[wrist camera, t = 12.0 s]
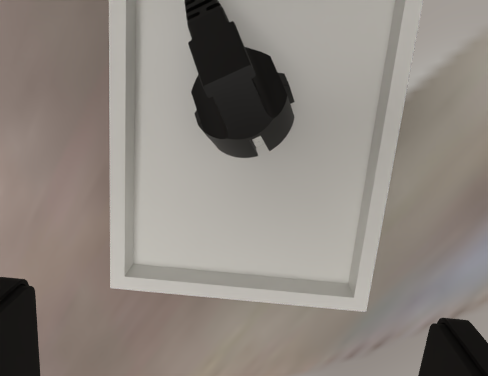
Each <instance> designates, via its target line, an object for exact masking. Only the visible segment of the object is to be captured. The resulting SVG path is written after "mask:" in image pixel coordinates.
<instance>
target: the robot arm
mask: <svg viewBox="0 0 488 376" xmlns="http://www.w3.org/2000/svg"><path fill="white" fill-rule="evenodd" d="M0 376H40V364H39V348H38V331H37V315H36V299H35V290H34V288H33V287H32V286H29V284H28V282H27V281H26V280H25V279H16V278H6V277H0ZM418 376H488V343H487V342H486V340H484V338H483V337H482V336H481V334H480V333H479V332H478V331H477V330H476V329H475V327H474V326H473V325H472V324H471V323H470V322H469V321H467V320H460V319H449V318H441V319H439V321H438V322H437V324H435V323H434V324H432V325H431V326H430V329H429V333H428V337H427V341H426V346H425V350H424V354H423V359H422V363H421V367H420V371H419V375H418Z"/></svg>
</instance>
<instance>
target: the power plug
mask: <svg viewBox="0 0 488 376" xmlns="http://www.w3.org/2000/svg"><path fill="white" fill-rule="evenodd" d="M184 2H185V7H186V8H185V10H186V18H187V25H188V29H189V32H190V35H191V38H192V40H191V41H189V42H188V45H189V48H190V51H191V54H192V57H193V60H194V63H195V65H196V68H197V71H198V76H197V78H196V80H195V83H194V85H193V88H192V91H191V93H192V96H193V100H194V103H195V106H196V109H197V110H196V112H195V113H194V114H195V117H196V120H197V123H198V126H199V127H200V128H201V130H202V131H203V132H204V133H205V134H206V136H207V137H208V138H209V139H210V140H211V141H212V142H213V143H214V145H215V146H216V147H217V148H218V149H219V150H220V151H221V152H223V153H225V154H227V155H229V156H233V157H237V158H251V157H256V156H258V153H257V151H256V148H258V147H260V146H262V145H266V146H267V148H268V150H269V151H271V150H272V149H274V148H275V147H276V146H278V145H279V144H280V143H281V142H282V141H283V140H284V139H285V137H286V136H287V135H288V133H289V131H290V129H291V127H292V125H293V122H294V114H293V111H292V108H291V105H290V104H291V103H294V102H295V101H294V98H293V95H292V92H291V89H290V85H289V83H288V81H287V78H286V76H285V74H284V73H278V72H277V70H276V68H275V65H274V63H273V61H272V59H271V56H269V55H267V54H265V53H263V52H260V51H257V50H254V49H250V48H247V47H244V45H243V42H242V40H241V37H240V35H239V32H238V30H237V27H236V25H235V23H234V22H233V21H231V22H229V20H228V18H227V15H226V13H225V11H224V9H223V7H222V6H221V4H220V3H219V1H218V0H185V1H184Z"/></svg>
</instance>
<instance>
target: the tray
mask: <svg viewBox="0 0 488 376" xmlns="http://www.w3.org/2000/svg"><path fill="white" fill-rule="evenodd" d="M184 1H185V0H109V117H110V288H115V289H125V290H136V291H147V292H158V293H168V294H179V295H190V296H201V297H211V298H222V299H233V300H243V301H254V302H265V303H276V304H286V305H297V306H308V307H319V308H329V309H340V310H351V311H362V312H366V310H367V304H368V299H369V294H370V288H371V283H372V277H373V272H374V266H375V261H376V255H377V250H378V245H379V239H380V234H381V228H382V223H383V217H384V212H385V206H386V201H387V196H388V190H389V185H390V179H391V174H392V168H393V163H394V157H395V152H396V147H397V141H398V136H399V130H400V125H401V119H402V114H403V108H404V103H405V98H406V92H407V87H408V81H409V76H410V70H411V65H412V59H413V54H414V49H415V43H416V38H417V32H418V27H419V21H420V16H421V10H422V5H423V0H218V1H219V3H220V4H221V6H222V7H223V9H224V11H225V13H226V15H227V18H228V20H229V22H231V21H233V22H234V23H235V25H236V27H237V30H238V32H239V35H240V37H241V40H242V42H243V45H244V47H247V48H250V49H254V50H257V51H260V52H263V53H265V54H267V55H269V56H271V59H272V61H273V63H274V65H275V68H276V70H277V72H278V73H284V74H285V76H286V78H287V81H288V83H289V85H290V89H291V92H292V95H293V98H294V101H295V102H294V103H291V104H290V105H291V108H292V111H293V114H294V122H293V125H292V127H291V129H290V131H289V133H288V135H287V136H286V137H285V139H284V140H283V141H282V142H281V143H280V144H279V145H278V146H276V147H275V148H274V149H272V150H271V151H269V150H268V148H267V146H266V145H262V146H260V147H258V148H256V151H257V153H258V156H256V157H251V158H237V157H233V156H229V155H227V154H225V153H223V152H221V151H220V150H219V149H218V148H217V147H216V146H215V145H214V143H213V142H212V141H211V140H210V139H209V138H208V137H207V136H206V134H205V133H204V132H203V131H202V130H201V128H200V127H199V126H198V123H197V120H196V117H195V114H194V113H195V112H196V110H197V109H196V106H195V103H194V100H193V96H192V93H191V91H192V88H193V85H194V83H195V80H196V78H197V76H198V71H197V68H196V65H195V63H194V60H193V57H192V54H191V51H190V48H189V45H188V42H189V41H191V40H192V38H191V35H190V32H189V29H188V25H187V18H186V10H185V8H186V7H185V2H184Z"/></svg>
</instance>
